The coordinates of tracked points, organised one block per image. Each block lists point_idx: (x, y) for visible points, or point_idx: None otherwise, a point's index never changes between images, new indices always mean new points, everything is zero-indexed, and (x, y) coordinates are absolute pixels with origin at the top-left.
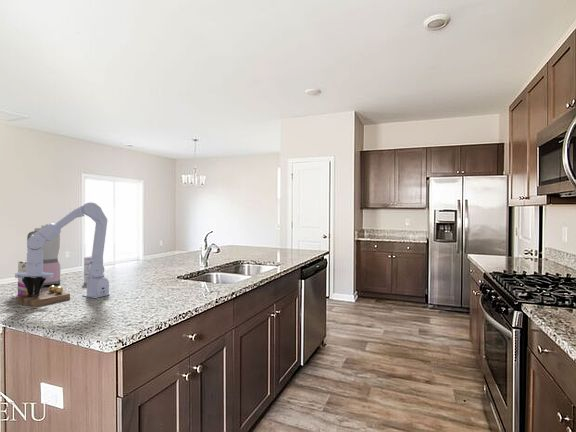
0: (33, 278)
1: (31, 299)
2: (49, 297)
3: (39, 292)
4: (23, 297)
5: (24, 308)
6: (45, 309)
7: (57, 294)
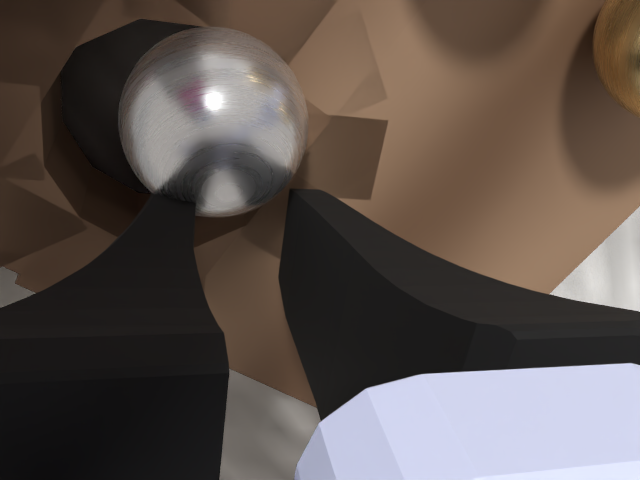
0: (212, 469)
1: (308, 389)
2: (527, 288)
3: (305, 133)
4: (73, 271)
5: (279, 435)
6: None
7: None
